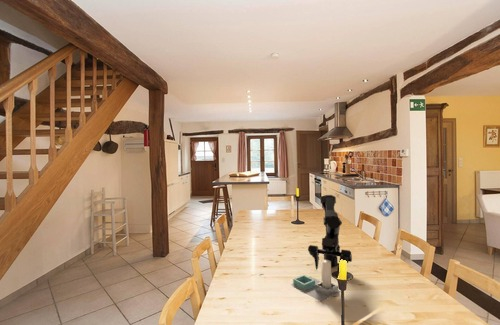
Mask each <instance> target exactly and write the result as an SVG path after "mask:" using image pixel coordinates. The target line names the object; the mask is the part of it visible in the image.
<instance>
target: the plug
mask: <svg viewBox="0 0 500 325" xmlns="http://www.w3.org/2000/svg"><path fill="white" fill-rule="evenodd" d="M320 263H321V264H320V265H321V266H320V267H321V282H322V287H323V288H325V289H327V290H328V289H330V288H331V283H332V267H331V261H330V260H324V259H322V260H321V262H320Z"/></svg>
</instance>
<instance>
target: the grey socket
mask: <svg viewBox="0 0 500 325" xmlns="http://www.w3.org/2000/svg"><path fill="white" fill-rule="evenodd" d="M315 290H316V291H318V292H320V293H322V294H323V295H325V296H327V297H329V296H331V295H333V294H335V293H337V292H338V290H339V285H338V284H335V283H333V282H331V288H330V289H328V290H327V289H325V288H323V287H322V281H321V282H320V283H317V284H315Z"/></svg>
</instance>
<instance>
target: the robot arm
mask: <svg viewBox="0 0 500 325" xmlns="http://www.w3.org/2000/svg"><path fill="white" fill-rule="evenodd" d="M319 198H320V204H321V207H322V210H324V217H323V218H322V219H323V221H322V222H323V226H324V227H325V236H324V237H322V239H321V248H319V247H318V245H313V244H310V245H309V246H308V248H307V251H308V253H309V256H311V257H312V258H313V259H314V266H315V269H316V270H318V268H319V260H320V254H321V255H323V260H330V261H331V268H334V267H336V266H337V269H336V270H337V275H339V274H340V272H339V262H340V260H341V259H343V260H346V261H347V263H346V264H349V263H351V262H353V261H352V260H353V255H352V252H351V250H350V249H341V246H340V243H339V242H340V241H339V239H340V238H339V234H340V227H341V225H342V223H343V222H342V220H341V218H340V217H339V214H338V213H337V212H336V211H335V204H337V198H336V196H335V195H332V194H325V195H322V196H320V197H319ZM338 258H339V261H338Z"/></svg>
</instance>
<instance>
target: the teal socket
mask: <svg viewBox="0 0 500 325" xmlns="http://www.w3.org/2000/svg"><path fill="white" fill-rule="evenodd" d="M309 277H310V276H307V275H305V274H302V275H300V276H297V277H294V278H293V279H292V280H293V281H292V284H294V285H295V286H297V287H299V288H301V289H303V290H307V289H309V288H311V287H313V286H315V280H313V279H311V278H309ZM303 281H305V282H307V283H305V284H304V283H302V282H303Z"/></svg>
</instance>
